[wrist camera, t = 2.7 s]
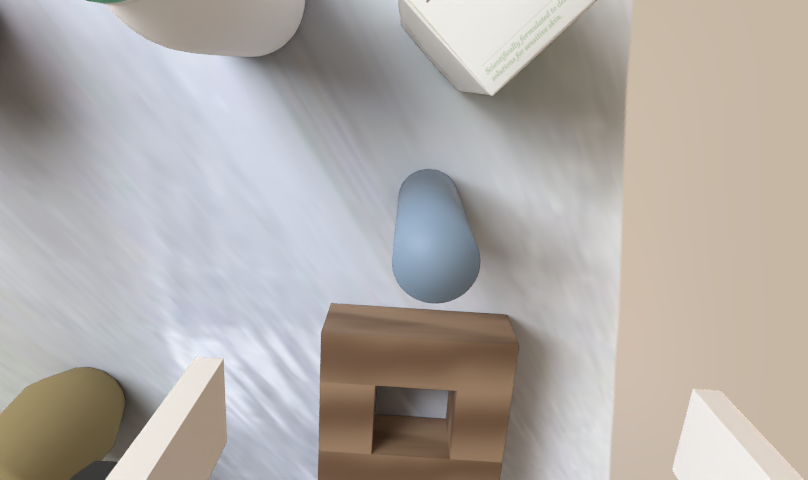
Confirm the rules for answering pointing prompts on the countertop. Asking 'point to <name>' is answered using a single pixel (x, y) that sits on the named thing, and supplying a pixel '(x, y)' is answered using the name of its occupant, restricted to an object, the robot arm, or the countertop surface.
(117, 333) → the countertop surface
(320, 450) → the socket block
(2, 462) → the squeeze bottle
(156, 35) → the milk bottle
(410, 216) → the peg
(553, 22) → the skincare box
